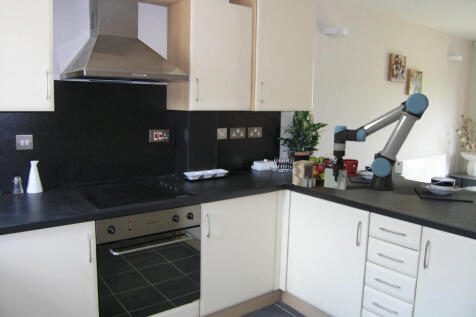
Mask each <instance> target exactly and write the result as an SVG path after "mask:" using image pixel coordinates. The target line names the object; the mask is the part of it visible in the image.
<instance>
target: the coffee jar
mask: <svg viewBox="0 0 476 317" xmlns="http://www.w3.org/2000/svg"><path fill="white" fill-rule="evenodd" d="M309 155H310V153H309V152H298V151H297V152H294V158H293V159H294V162H297V161H302V160H306V161H310V156H309Z"/></svg>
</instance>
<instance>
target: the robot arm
mask: <svg viewBox="0 0 476 317" xmlns="http://www.w3.org/2000/svg"><path fill="white" fill-rule="evenodd" d="M429 103H430V101H429V99H428V97H427V95H425V94H424V93H422V92H414V93H412V94H411V95H409V96H408V97H407V99H406V100H404V101H403V102H401V103H400V105H399V106H397V107H395V108H393V109H391V110H389V111H387V112H386V113H384V114H382V115H380V116H378V117H377V118H374V119H373V120H371V121H369V122H367V123H365V124H364V125H363V124H362V126H360V127H358V128H356V129H352V128H349V129H348V128H347V125H335V126H334V131H333V145H332V146H333V149H332V151H333V152H332V156H333V157H334V160H332V169H333V176H334V186H337V187H338V183H339V176H338V174H339V170H343V167H344V165H345V164H344V159H345V158H344V157H345V156H346V149H347V148H346V146H347V142H356V143H357V142H358V143H365V142H366V140H367V137H369V136H371V135H372V134H375V133H376V132H378V131H380V130H382V129H385V128H386V127H389V126H390V125H392V124H393V123H396V122H397V124H396V125H395V127H394V129H393V130H392V133H391V134H390V136H389V137H388V139H387V141H386V143H385V144H384V146H383V148H382V149H381V150H380V151H378V152H376V153H374V156H373V161H372V162H371V166H370V168H371V172H372V177H371V180H370V182H369V189H371V190H376V191H381V192H382V191H384V192H388V191H394V190H395V185H394V181H393V180H394V179H393V168H394V166H395V164H396V162H397V161H398V159H397V156H398V154H399V153H400V151H401V149H402V146H403V145H404V144H405V141H406V139H407V138H408V136H409V134H410V132H411V130H412V129H413V127H414V125H415V124H416V122H418V121H420V120H421V118H422V117H423V115H424V114H425V112H426V110H427V109H428V107H429V106H430V105H429Z"/></svg>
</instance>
